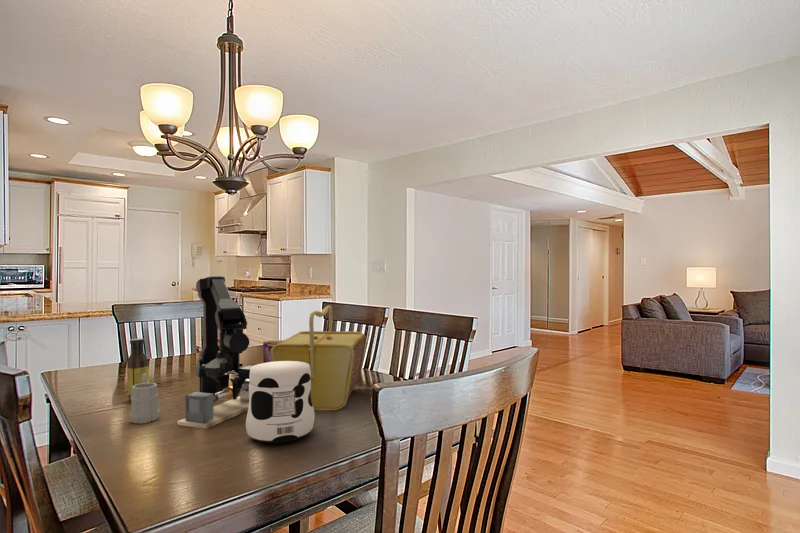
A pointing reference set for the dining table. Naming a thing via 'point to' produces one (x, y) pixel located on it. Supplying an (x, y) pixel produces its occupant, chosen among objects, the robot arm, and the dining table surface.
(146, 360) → the sauce bottle
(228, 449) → the dining table surface
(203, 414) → the socket
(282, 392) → the milk container
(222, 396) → the tube
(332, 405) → the picnic basket
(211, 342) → the robot arm
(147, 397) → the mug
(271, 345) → the candy box
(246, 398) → the sleeve
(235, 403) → the board
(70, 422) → the dining table surface
